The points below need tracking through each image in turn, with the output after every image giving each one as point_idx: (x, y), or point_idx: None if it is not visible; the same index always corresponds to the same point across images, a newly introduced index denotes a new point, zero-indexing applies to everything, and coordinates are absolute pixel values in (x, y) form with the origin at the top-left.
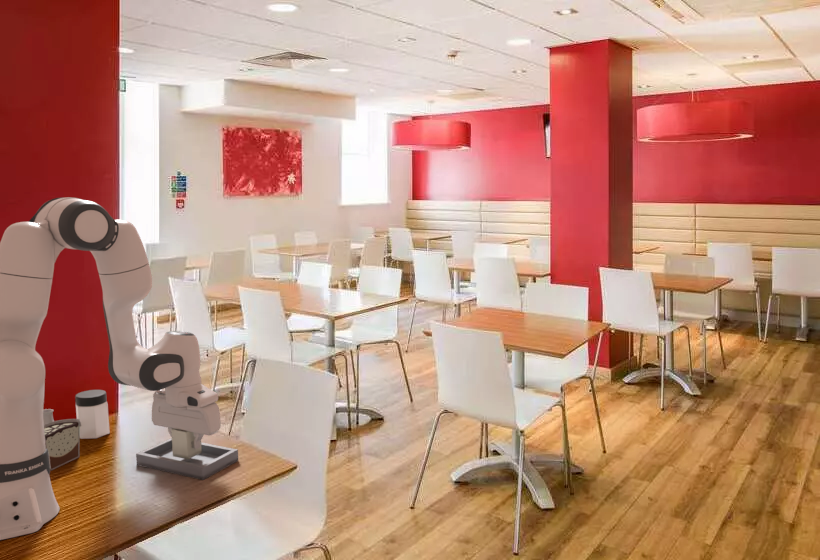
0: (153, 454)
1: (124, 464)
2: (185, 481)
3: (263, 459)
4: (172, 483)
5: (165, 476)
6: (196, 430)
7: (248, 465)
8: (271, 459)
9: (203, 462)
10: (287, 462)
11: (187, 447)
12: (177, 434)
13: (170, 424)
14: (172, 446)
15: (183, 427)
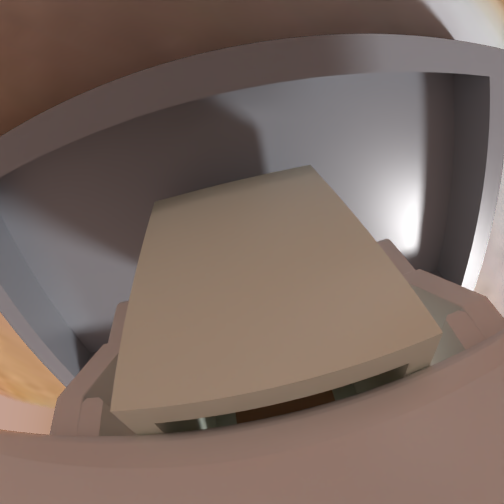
0: (461, 145)
1: (496, 31)
2: (4, 77)
3: (55, 390)
4: (33, 8)
5: (159, 9)
6: (7, 458)
7: (27, 349)
8: (45, 397)
9: (126, 262)
10: (9, 397)
11: (142, 263)
12: (296, 327)
13: (500, 388)
14: (339, 200)
15: (215, 477)
